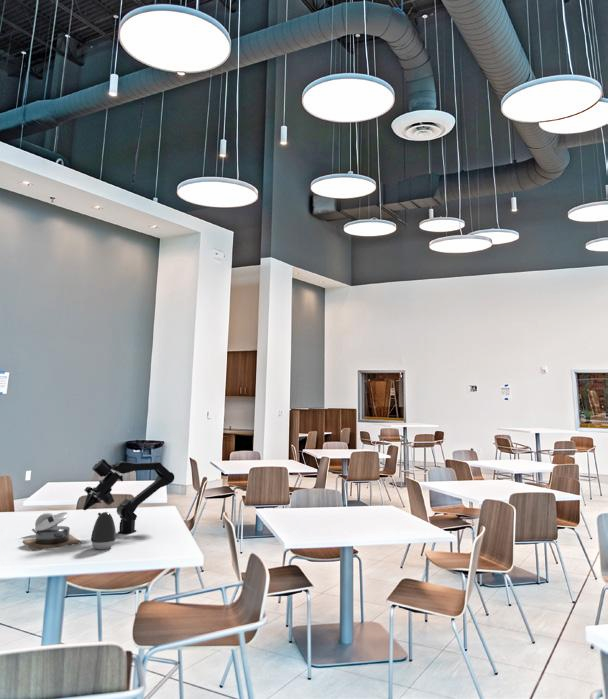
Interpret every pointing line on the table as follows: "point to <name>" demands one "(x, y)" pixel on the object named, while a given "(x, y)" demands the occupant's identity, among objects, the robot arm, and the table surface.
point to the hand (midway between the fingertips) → (83, 509)
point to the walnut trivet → (35, 546)
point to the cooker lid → (50, 522)
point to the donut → (43, 518)
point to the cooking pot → (53, 535)
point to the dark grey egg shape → (103, 531)
